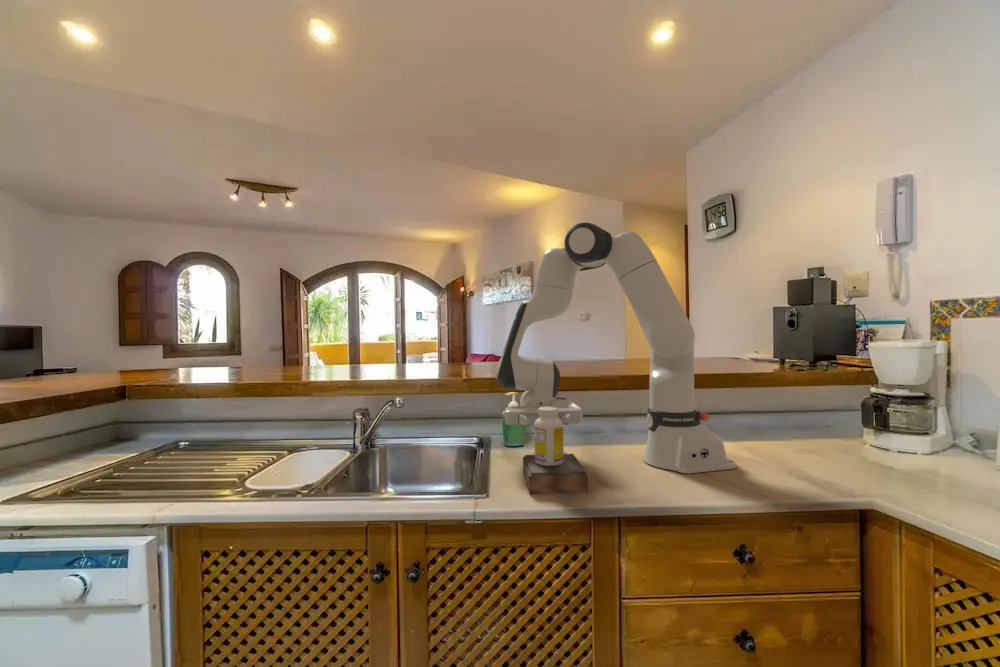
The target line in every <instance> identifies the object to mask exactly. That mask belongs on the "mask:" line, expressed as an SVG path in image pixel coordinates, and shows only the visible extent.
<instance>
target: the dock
mask: <svg viewBox="0 0 1000 667" xmlns="http://www.w3.org/2000/svg"><path fill="white" fill-rule="evenodd" d="M522 475H523V477H524V481H526V482H525V484H526V488H527V491H528V494H529V495H554V494H555V495H556V494H557V495H559V494H585V493H586V494H587V493H589V474H588V473H587V471H586V470H585V469H584V467H583V466H582V464H581V463H580V461H579V460H578V458H577V457H576V456H575V455H574V453H563V463H562V464H560V465H558V466H542V465H539V464H537V463H536V461H535V454H525V455H524V456H522Z"/></svg>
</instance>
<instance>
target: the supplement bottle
mask: <svg viewBox="0 0 1000 667" xmlns="http://www.w3.org/2000/svg"><path fill="white" fill-rule="evenodd" d="M538 413H539V415H540V416H539V418H538V419H537V420H536V421H535V427H534V455H535V461H536V463H537V464H539V465H542V466H558V465H560V464H562V463H563V454H564V425H563V422H562V421H561V420H560V419H559V418H558V413H559V409H558V408H556V407H540V408H539V409H538Z"/></svg>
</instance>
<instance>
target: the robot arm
mask: <svg viewBox="0 0 1000 667" xmlns="http://www.w3.org/2000/svg"><path fill="white" fill-rule="evenodd" d="M605 265H608V266H609V267H610V269H612V271H613V273H614V275H615V276H616V279H617V281H618V282H619V285H620V286H621V289H622V290H623V292H624V294H625V296H626V299H627V300H628V302H629V304H630V306H631V308H632V310H633V312H634V315H635V317H636V319H637V322H638V324H639V325H640V328H641V330H642V332H643V334H644V337H645V338H646V340H647V342H648V344H649V346H650V355H649V356H650V358H649V360H650V362H649V381H648V382H649V393H648V394H649V395H648V396H649V398H648V400H649V406H648V407H647V415H646V416H647V417H646V419H647V420H646V422H647V428H648V432H647V433H648V434H647V441H646V446H645V447H646V448H645V450H644V455H643V457H642V460H643V461H644V462H645V463H646V464H648V465H649V466H652V467H656V468H659V469H662V470H663V469H666V470H671V471H674V472H679V473H682V474H696V473H697V474H698V473H705V472H706V473H707V472H715V471H716V470H717V471H725V470H733V469H736V468H737V467H736V466H737V465H736V461H735V460H733V459H732V458H731V457H729V456H727V454H726V448H725V444H724V442H723V441H722V440H721V438H719V437H718V435H715V433H713V432H712V431H711V430H710V429H708V428H707V427H706V426H704V424H702V422H701V421H703V422H708V420H710V415H709V414H708V413H706V412H703V411H701V412H700V411H698V410H697V409H695V364H694V363H695V362H694V361H695V360H694V359H695V353H694V352H695V351H694V348H695V347H694V343H695V338H696V334H695V330H694V327H693V325H692V324H691V322H690V319H689V318H688V316H687V314H686V312H685V311H684V309H683V307H682V305H681V303H680V302H679V300H678V298H677V296H676V294H675V292H674V290H673V288H672V286H671V285H670V283H669V281H668V279H667V277H666V275H665V274H664V272H663V269H662V267H661V266H660V263H659V262H658V261H657V259H656V257H655V255H654V254H653V252H652V250H651V249H650V247H649V246H648V245H647V243H646V241H644V239H643V238H642V237H641V236H640V234H638V233H637V232H635V231H624V232H620V233H618V234H616V235H613V236H612V233H610V232H608V231H606V230H605V229H603V228H602V227H600V226H599V225H597V224H594V223H591V222H579V223H577V224H574V225H573V226H572V227H571V228H570V229H569V230H568V231H567V233H566V235H565V237H564V247H561V248H559V247H556V248H550V249H548V250H545V252H544V253H543V255H542V257H541V259H540V263H539V266H538V269H537V273H536V278H535V284H534V287H533V291H532V293H531V294H530V296H529V298H528V299H526V300H524V301H522V302H521V303H520V305H519V308H518V309H517V311H516V315H515V318H514V319H513V322H512V325H511V329H510V330H509V334H508V337H507V339H506V344H505V346H504V349H503V352H502V354H501V357H500V359H499V360H498V362H497V366H496V368H495V381H496V382H497V383H498V385H499V386H501V387H502V389H504V390H521V391H525V392H523V393H522V394H521V396H520V400H519V405H511V406H507V407H506V408H505V409H504V410H502V416H504V424H505V425H507V426H522V425H523V426H532V427H534V428H535V421H536V420H537V419H538V418H539V416H540V415H539V413H538V409H539V408H540V407H556V408H558V409H559V413H558V418H559V419H560V420H561V421H562V422H563V426H567V425H571V424H572V425H575V424H582V423H583V417H584V416H583V409H582V408H581V406H579V405H577V404H576V403H574V402H572V400H571V399H570V398H567V397H557V395H558V393H559V390H560V386H561V372H560V370H559V368H558V366H557V364H556V363H555V362H554V360H550V359H544V358H543V359H542V358H533V357H527V356H520V355H519V354H518V353H519V350H520V348H521V344H522V342H523V339H524V335H525V333H526V330H527V329H528V328H529V327H530V326H531V325H532V324H534V323H537V322H542V321H546V320H550V319H551V320H552V319H554V318H556V317H559V316H561V315H562V314H564V313H565V312H566V311H567V310H568V308H570V305H571V302H572V298H573V292H574V286H575V282H576V276H577V274H578V273H579V271H580V272H581V271H588V270H595V269H598V268H601V267H602V266H605ZM526 390H527V391H526ZM717 471H716V472H717Z"/></svg>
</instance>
